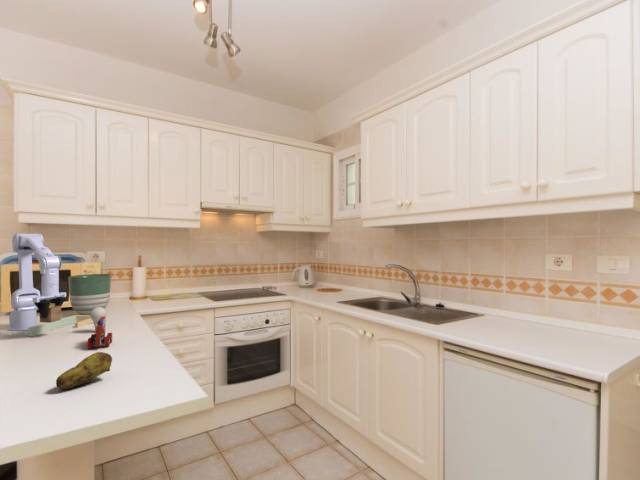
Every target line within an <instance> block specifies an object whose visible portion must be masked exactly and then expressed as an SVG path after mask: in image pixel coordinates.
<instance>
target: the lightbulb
mask: <svg viewBox="0 0 640 480" xmlns="http://www.w3.org/2000/svg"><path fill="white" fill-rule="evenodd" d="M107 313H108V312H107V310H106V308H105V309H104V308H102V307H97V308H94V309H93V310H92V311H91V313H90V317H91V319H92V320H93V322H94V323H93V325H94V326H93V327H94V331H96V329H97V326H98V324H97V322H98V321H99V319H100V318H101V317H106V318H107V315H108V314H107Z"/></svg>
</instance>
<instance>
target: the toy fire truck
mask: <svg viewBox="0 0 640 480" xmlns="http://www.w3.org/2000/svg"><path fill="white" fill-rule="evenodd" d="M106 318H107V316H106V317H101V318H100V319H99V321H98V322H97V324H98V326H97V329H96V331H95V330H94V331H95V332H94V333H92V334H91V336H90V337H88V338H87V342H86V343H87V345H86V347H87V349H88V350H91V349H93V348H94V347H102V345H103V346H104V348H109V347H110V344H112V342H113V332H107V335H106V322H107V321H106V320H107V319H106Z"/></svg>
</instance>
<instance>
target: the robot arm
mask: <svg viewBox="0 0 640 480" xmlns="http://www.w3.org/2000/svg"><path fill="white" fill-rule="evenodd" d="M12 251H13V252H15V253H17V260H18V261H17V262H18V265H17V266H18V283H19V287H18V289H16V290H15V291H13V292H12V293H11V298H10V299H11V300H10V306H11V309H12V310H11V312H9V313H10V314H9V316H8V317H9V319H8V320H9V321H8V322H9V323H8V324H9V325H8V326H9V327H8V328H7V331H28V328H29V327H33V326H36V325H38V324H37V310H38V312H39V316H40V315H41V318H47V317H48V310H49V306H50V304H52V303H55V306H61V307H62V306H63V304H64V302H65V301H66V297H67V292H62V291H61V292H60V291H59V289H60V286H59V285H60V284H59V283H60V278H59V277H60V274H59V272H60V269H61V268H62V258H61V256H60V255H55V254H54V253H53V252H52V251H51V249H50V248H49V247H47V246H44V236H43V234H42V233H40V232H39V233H18V232H17V233H14V234H13V236H12ZM32 255H33V256H34V257H35V258H36V260H37V261H38V267H39V272H40V275H41V292H40V290H39V289H37V288H35V287H34V281H33V279H34V278H33V277H34V276H33V259H32V258H33V257H32Z"/></svg>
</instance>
